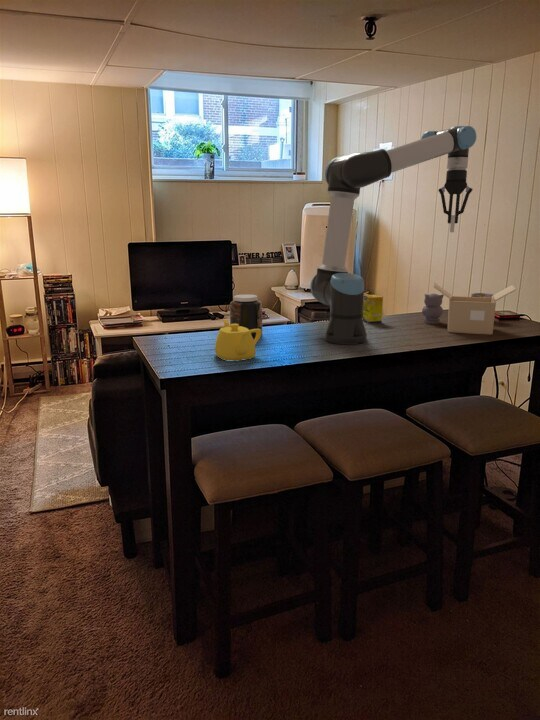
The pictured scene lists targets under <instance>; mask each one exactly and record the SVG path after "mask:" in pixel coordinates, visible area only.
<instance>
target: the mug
mask: <svg viewBox="0 0 540 720" xmlns="http://www.w3.org/2000/svg"><path fill="white" fill-rule="evenodd" d="M493 295H494V293H486V292H485V293H484V292H475V293H473V292H472V293H471V295H470V297H486V298H492V296H493Z"/></svg>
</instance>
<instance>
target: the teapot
mask: <svg viewBox="0 0 540 720" xmlns="http://www.w3.org/2000/svg"><path fill="white" fill-rule="evenodd" d="M223 323H224V324H223V325H224V326H223V327H221V328H220V329H219V330H218V333H217V335H216V339H215V344H214V345H215V347H214V351H215V355H216V356H217V358H218V357H220V358H222V359H225V360H242V359H250V358H253V359H254V357H255V356H256V345H257V342H258V341H259V340H260V339H261V337H262V336H261V334H262V335H263V330H262V331H261V329H252V330H249V329H247V328H245V327H242V326H239V324H230V321H229V320H227V319H224V320H223ZM230 326H231V327H230ZM252 332H256V337H255V338H253V337H252V335H251V333H252Z"/></svg>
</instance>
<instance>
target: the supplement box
mask: <svg viewBox="0 0 540 720" xmlns="http://www.w3.org/2000/svg"><path fill="white" fill-rule="evenodd" d="M383 305H384V297H383V296H381V295H378V294H366V295H364V298H363V322H364V323H367V322H368V323H367V324H369V323H371V324H380V323H381V324H382V321H383Z"/></svg>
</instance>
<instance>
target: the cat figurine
mask: <svg viewBox="0 0 540 720" xmlns="http://www.w3.org/2000/svg"><path fill="white" fill-rule="evenodd" d="M444 296H445V295H444V294H437V293H429V294H426V293H424V301H423V302H424V307H422V309H421V314H422V315H423V316H424V318H423V323H424V324H429V325H438V324H440V318H441V316H443V314H444V309H443V307H442V306H441V305H442V304H443V298H444Z"/></svg>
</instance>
